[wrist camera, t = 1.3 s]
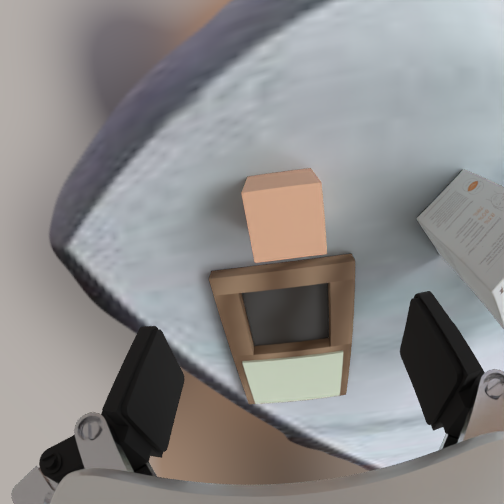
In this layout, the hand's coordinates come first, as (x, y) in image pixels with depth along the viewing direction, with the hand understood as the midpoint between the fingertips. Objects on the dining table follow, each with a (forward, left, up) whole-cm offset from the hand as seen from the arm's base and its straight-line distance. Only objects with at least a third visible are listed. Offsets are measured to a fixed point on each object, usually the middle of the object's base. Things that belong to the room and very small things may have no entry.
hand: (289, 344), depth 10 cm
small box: (-18, +3, -17) cm, 25 cm away
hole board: (+1, +17, -17) cm, 24 cm away
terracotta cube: (0, 0, -17) cm, 17 cm away
